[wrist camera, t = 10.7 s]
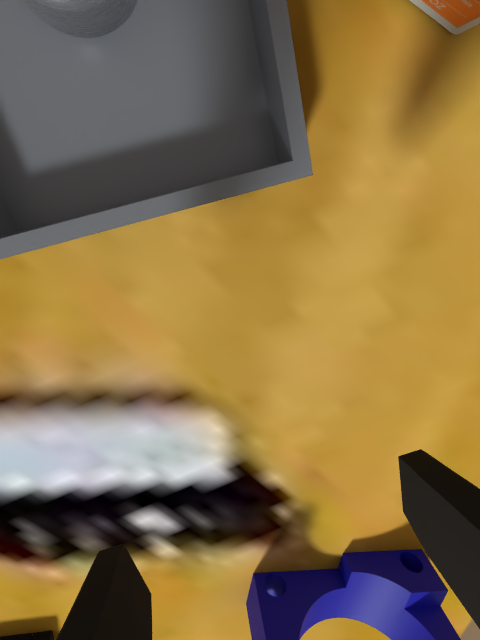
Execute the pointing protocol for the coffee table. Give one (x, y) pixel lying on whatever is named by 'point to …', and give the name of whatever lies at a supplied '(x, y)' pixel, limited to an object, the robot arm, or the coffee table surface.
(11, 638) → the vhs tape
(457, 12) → the skincare box
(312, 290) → the coffee table surface
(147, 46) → the grey tray
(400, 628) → the cable clip
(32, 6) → the cell
